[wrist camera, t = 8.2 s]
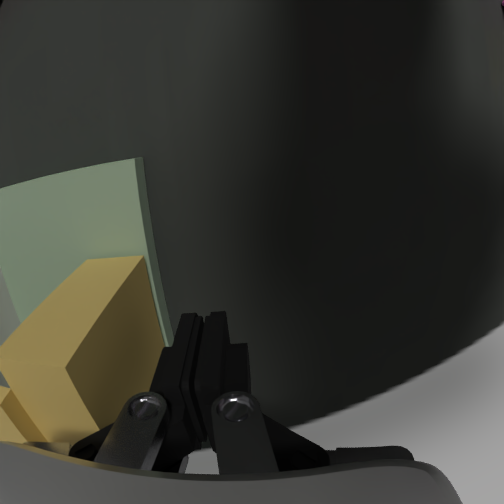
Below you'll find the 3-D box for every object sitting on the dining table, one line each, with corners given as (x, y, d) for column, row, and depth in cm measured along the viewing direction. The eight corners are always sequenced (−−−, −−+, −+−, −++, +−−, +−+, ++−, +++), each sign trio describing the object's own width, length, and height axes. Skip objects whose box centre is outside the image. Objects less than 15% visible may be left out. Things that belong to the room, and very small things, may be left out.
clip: (143, 255, 13) (51, 389, 5) (167, 355, 15) (130, 495, 7) (35, 263, 13) (-69, 355, 5) (66, 351, 15) (3, 456, 7)
